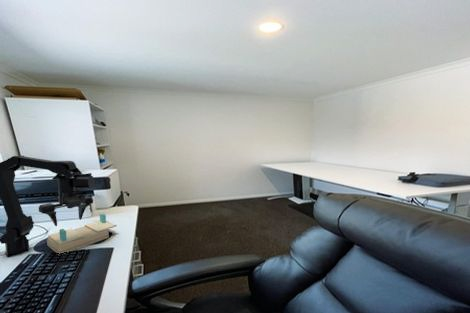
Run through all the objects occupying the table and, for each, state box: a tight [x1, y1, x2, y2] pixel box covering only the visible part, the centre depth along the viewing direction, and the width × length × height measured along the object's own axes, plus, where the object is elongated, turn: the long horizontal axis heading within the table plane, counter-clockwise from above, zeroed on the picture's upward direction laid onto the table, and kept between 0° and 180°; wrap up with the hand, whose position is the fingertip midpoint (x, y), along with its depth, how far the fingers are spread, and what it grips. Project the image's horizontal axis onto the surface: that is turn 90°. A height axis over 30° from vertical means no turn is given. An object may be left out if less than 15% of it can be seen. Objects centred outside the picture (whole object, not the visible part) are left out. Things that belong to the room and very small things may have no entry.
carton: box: [46, 225, 110, 255], centre depth 103 cm, size 20×16×4 cm
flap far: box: [84, 212, 118, 232], centre depth 111 cm, size 9×15×5 cm, turn 56°
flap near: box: [47, 228, 84, 245], centre depth 98 cm, size 9×15×5 cm, turn 56°
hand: (68, 222), depth 96 cm, fingers open, 9 cm apart
